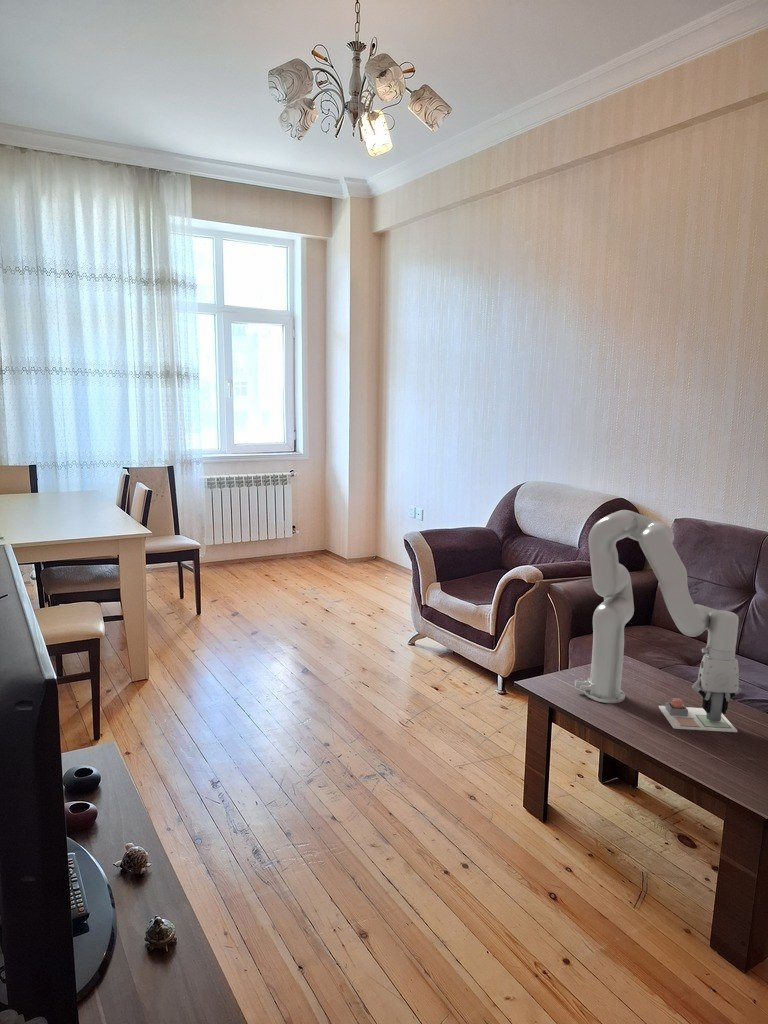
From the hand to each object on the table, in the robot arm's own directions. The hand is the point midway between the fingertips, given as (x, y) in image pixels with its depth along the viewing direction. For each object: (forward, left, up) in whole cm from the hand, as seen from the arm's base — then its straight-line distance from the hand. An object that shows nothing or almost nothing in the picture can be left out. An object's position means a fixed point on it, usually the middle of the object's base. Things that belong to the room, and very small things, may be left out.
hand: (714, 711), depth 203 cm
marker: (0, 0, -2) cm, 2 cm away
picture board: (-4, +2, -4) cm, 6 cm away
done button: (-9, +5, -2) cm, 10 cm away
